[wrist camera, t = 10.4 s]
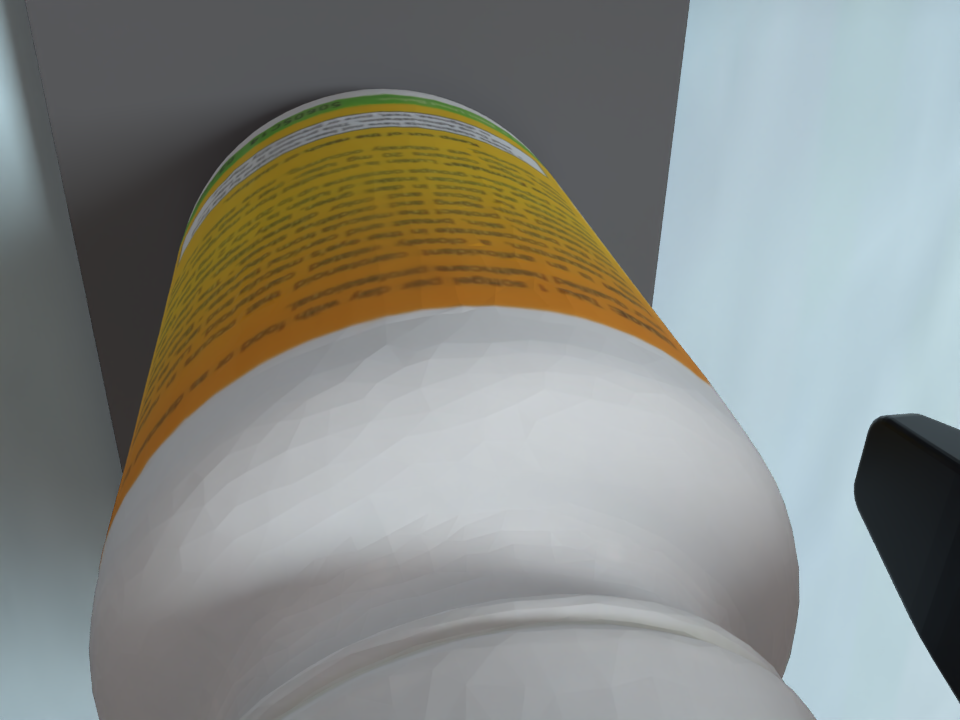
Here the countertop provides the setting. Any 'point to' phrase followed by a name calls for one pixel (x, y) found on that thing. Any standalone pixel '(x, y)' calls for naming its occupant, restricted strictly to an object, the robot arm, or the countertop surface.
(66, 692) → the countertop surface
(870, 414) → the countertop surface
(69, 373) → the countertop surface
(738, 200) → the countertop surface
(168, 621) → the supplement bottle
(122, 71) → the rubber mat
